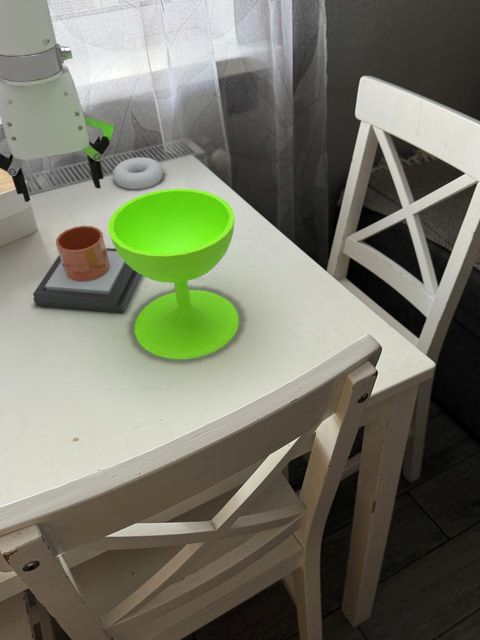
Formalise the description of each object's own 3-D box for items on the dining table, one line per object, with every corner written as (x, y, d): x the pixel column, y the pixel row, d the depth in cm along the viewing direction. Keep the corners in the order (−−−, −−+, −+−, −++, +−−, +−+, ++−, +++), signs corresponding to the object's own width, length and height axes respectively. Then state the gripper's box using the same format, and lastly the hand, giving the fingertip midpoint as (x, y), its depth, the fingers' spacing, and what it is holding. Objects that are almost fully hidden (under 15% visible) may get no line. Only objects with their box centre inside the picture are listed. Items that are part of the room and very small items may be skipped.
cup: (58, 280, 90) (48, 249, 86) (75, 254, 95) (66, 224, 91) (101, 283, 89) (93, 252, 86) (115, 257, 94) (108, 227, 90)
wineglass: (172, 281, 96) (155, 179, 83) (260, 309, 90) (256, 204, 78) (110, 342, 86) (81, 236, 73) (205, 378, 80) (190, 270, 68)
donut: (126, 168, 125) (106, 190, 118) (123, 152, 122) (102, 174, 115) (171, 172, 123) (153, 195, 116) (169, 156, 120) (151, 179, 113)
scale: (35, 311, 91) (29, 293, 89) (67, 262, 100) (62, 245, 98) (123, 318, 90) (119, 300, 87) (147, 267, 99) (144, 250, 96)
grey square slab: (47, 294, 90) (44, 286, 89) (72, 256, 97) (69, 248, 96) (110, 298, 89) (108, 290, 88) (130, 260, 96) (129, 252, 95)
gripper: (94, 43, 76) (117, 167, 88) (-49, 61, 72) (-4, 189, 84) (106, 63, 71) (129, 191, 83) (-48, 83, 67) (0, 216, 79)
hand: (62, 190), depth 84 cm, fingers open, 9 cm apart
